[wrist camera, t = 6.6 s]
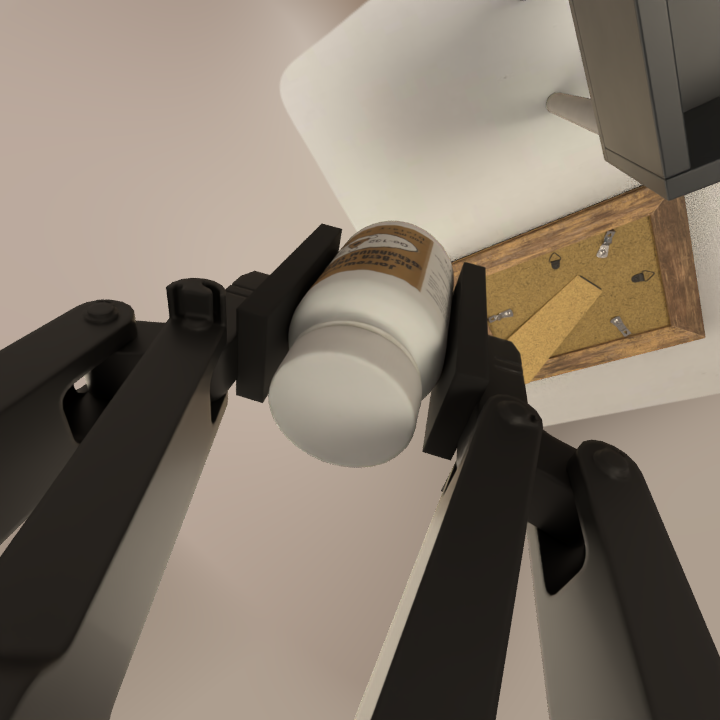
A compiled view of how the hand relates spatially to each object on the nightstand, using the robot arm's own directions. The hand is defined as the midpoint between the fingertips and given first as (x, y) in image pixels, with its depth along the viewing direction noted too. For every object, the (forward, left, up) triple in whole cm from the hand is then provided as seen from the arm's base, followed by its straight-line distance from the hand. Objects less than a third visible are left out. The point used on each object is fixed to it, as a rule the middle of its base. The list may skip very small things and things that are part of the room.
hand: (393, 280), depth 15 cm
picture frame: (+12, +18, -34) cm, 41 cm away
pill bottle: (0, 0, 0) cm, 0 cm away
